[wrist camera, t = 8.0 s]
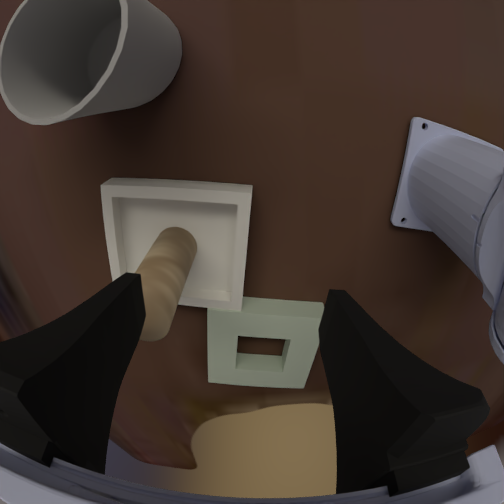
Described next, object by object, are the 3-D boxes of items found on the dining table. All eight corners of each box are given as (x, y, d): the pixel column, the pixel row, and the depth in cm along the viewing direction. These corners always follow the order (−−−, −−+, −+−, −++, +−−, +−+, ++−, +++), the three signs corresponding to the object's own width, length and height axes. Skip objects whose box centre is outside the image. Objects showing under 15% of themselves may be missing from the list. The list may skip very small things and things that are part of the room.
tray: (252, 185, 20) (252, 193, 18) (242, 296, 24) (241, 311, 23) (111, 177, 20) (100, 185, 18) (123, 283, 24) (115, 296, 22)
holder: (322, 302, 24) (326, 318, 22) (301, 372, 29) (303, 388, 27) (210, 293, 24) (207, 309, 22) (210, 366, 28) (208, 382, 27)
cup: (180, 108, 17) (120, 118, 10) (55, 115, 17) (-33, 140, 9) (190, 5, 14) (141, -50, 6) (61, 26, 14) (-24, 14, 6)
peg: (202, 235, 21) (175, 309, 14) (190, 269, 22) (163, 348, 15) (162, 220, 20) (117, 287, 13) (152, 255, 22) (111, 328, 15)
